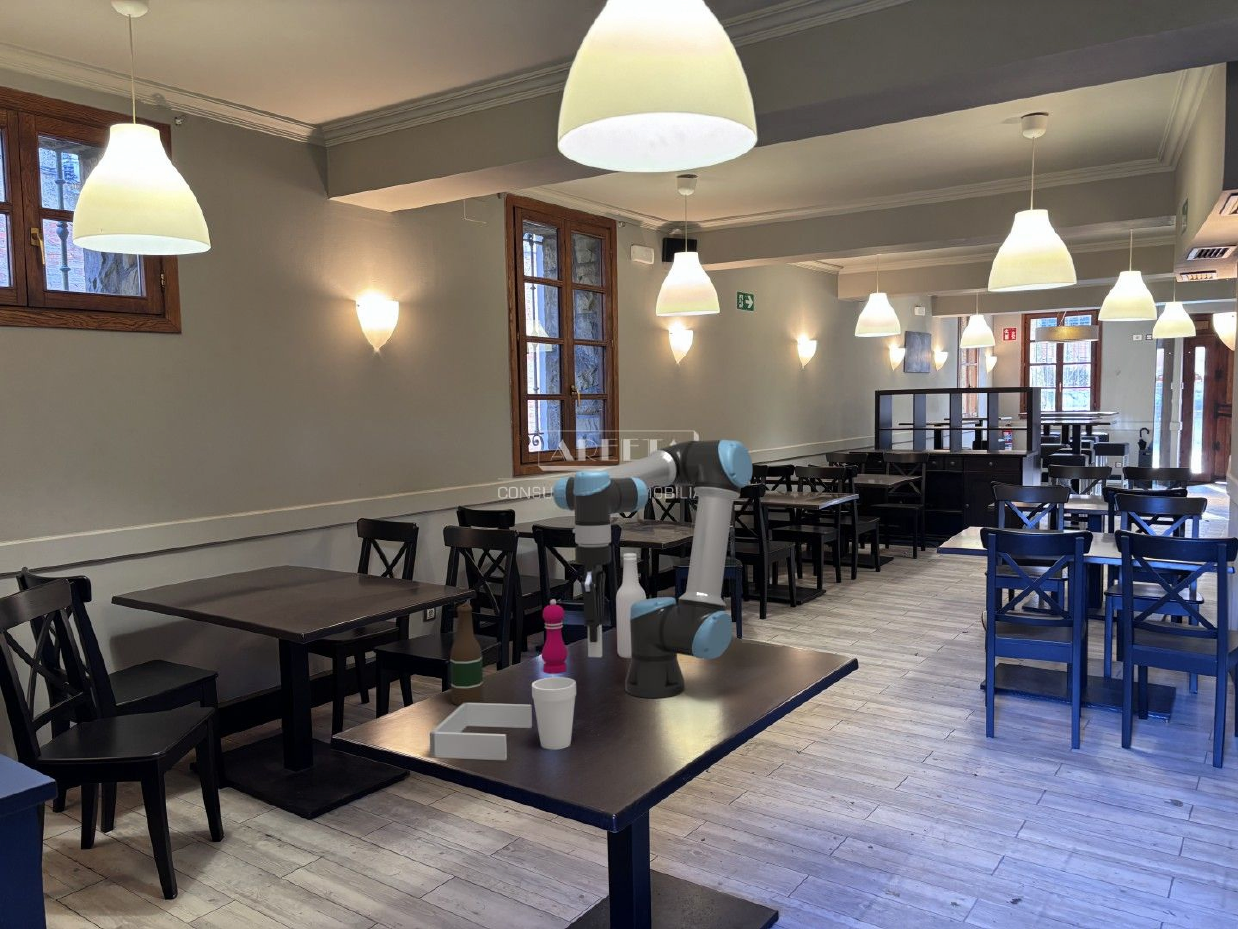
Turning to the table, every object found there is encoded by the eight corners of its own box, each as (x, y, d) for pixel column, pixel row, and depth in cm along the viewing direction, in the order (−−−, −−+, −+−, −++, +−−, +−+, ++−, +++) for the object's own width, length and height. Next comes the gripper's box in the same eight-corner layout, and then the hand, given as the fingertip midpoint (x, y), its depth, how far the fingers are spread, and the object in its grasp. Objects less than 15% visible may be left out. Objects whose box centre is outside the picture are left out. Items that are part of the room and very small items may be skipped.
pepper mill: (564, 674, 234) (562, 602, 233) (538, 673, 236) (536, 601, 235) (570, 667, 241) (568, 596, 240) (546, 666, 243) (544, 596, 242)
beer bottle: (468, 708, 207) (465, 610, 206) (445, 703, 211) (441, 607, 210) (490, 699, 214) (486, 604, 213) (466, 695, 218) (463, 601, 217)
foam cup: (534, 737, 186) (532, 678, 186) (576, 735, 187) (575, 676, 186) (533, 753, 177) (531, 691, 176) (578, 751, 178) (576, 689, 177)
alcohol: (620, 660, 248) (618, 556, 247) (614, 652, 256) (612, 552, 255) (650, 657, 249) (647, 555, 248) (643, 650, 258) (641, 551, 257)
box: (532, 726, 193) (531, 704, 193) (505, 760, 173) (504, 736, 173) (464, 724, 196) (463, 702, 196) (430, 757, 176) (429, 733, 176)
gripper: (582, 540, 187) (585, 648, 187) (567, 548, 174) (570, 663, 175) (616, 540, 185) (618, 649, 186) (604, 548, 173) (606, 664, 173)
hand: (595, 656), depth 180 cm, fingers closed
